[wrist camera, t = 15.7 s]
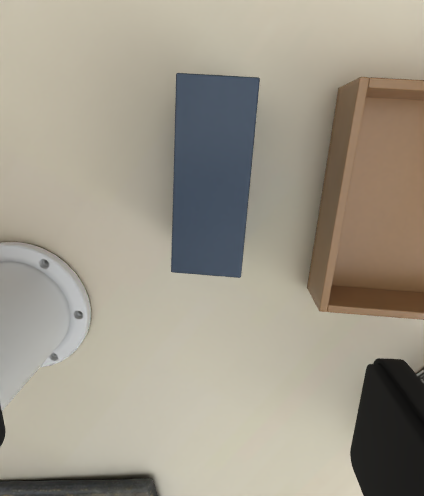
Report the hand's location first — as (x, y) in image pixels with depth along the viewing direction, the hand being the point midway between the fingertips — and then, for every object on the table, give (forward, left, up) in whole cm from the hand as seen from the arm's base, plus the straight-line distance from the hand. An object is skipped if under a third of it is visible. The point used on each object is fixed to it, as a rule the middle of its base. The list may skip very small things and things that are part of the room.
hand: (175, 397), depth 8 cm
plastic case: (0, +4, -21) cm, 21 cm away
